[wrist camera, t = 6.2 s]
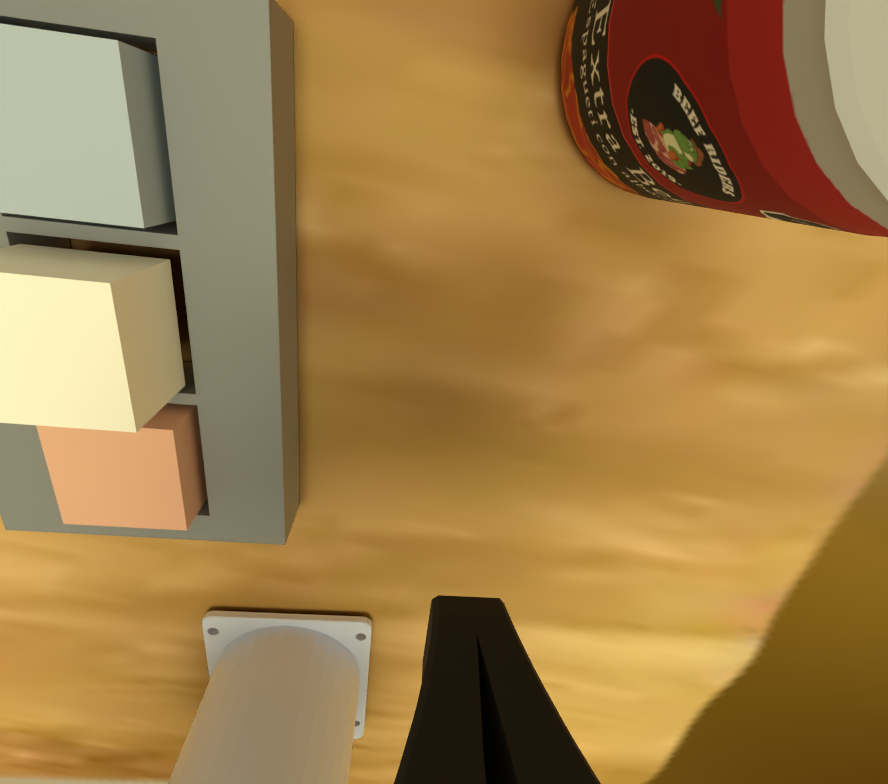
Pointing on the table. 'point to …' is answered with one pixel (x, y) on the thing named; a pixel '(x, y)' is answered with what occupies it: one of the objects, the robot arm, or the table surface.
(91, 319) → the key ivory
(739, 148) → the canned food
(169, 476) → the key terracotta
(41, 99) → the key slate
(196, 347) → the keypad base
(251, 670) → the robot arm
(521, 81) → the table surface
